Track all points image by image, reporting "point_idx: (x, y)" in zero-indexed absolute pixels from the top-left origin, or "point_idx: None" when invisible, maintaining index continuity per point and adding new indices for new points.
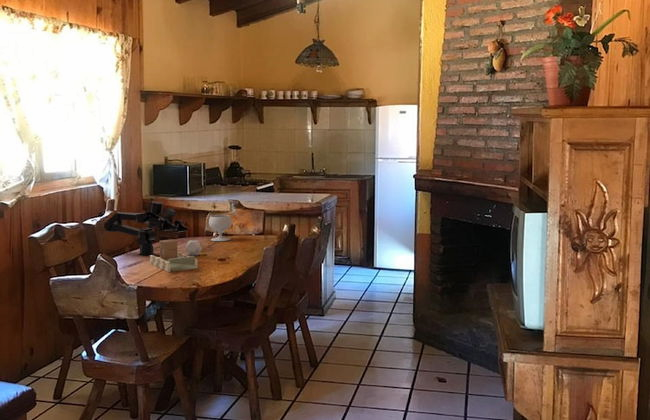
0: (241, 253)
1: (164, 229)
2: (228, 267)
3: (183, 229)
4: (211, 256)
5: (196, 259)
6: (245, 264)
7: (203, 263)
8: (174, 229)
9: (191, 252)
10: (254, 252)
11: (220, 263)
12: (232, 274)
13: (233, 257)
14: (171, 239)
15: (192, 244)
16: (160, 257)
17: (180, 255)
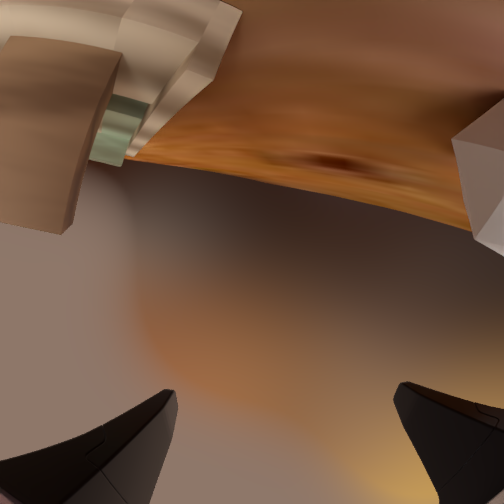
0: (453, 212)
1: (14, 476)
2: (215, 159)
3: (432, 421)
4: (425, 159)
5: (130, 155)
6: (272, 178)
7: (231, 123)
8: (143, 402)
9: (467, 127)
10: (455, 224)
11: (260, 153)
12: (160, 160)
13: (383, 186)
14: (50, 232)
15: (469, 212)
16: (8, 48)
17: (159, 96)
